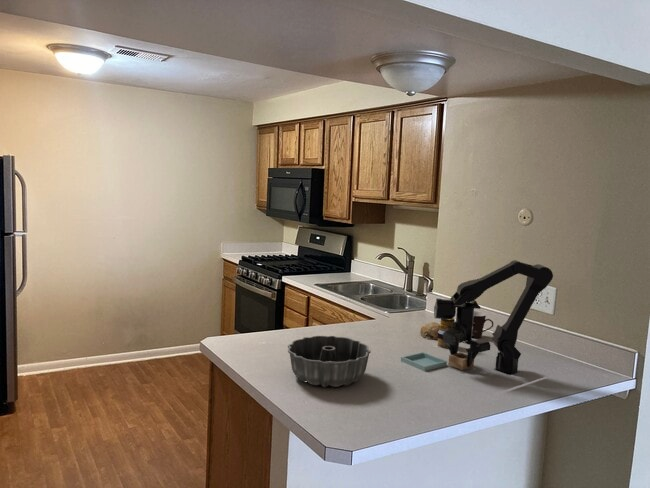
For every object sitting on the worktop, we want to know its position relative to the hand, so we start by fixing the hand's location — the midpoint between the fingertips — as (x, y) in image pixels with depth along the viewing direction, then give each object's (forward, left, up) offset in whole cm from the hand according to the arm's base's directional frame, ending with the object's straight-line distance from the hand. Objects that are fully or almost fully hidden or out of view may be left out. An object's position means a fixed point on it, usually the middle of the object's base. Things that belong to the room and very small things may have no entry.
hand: (461, 363), depth 180 cm
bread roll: (+32, -21, -2) cm, 39 cm away
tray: (+10, +9, -2) cm, 13 cm away
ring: (0, 0, -1) cm, 1 cm away
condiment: (+18, -14, -2) cm, 23 cm away
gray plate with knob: (0, 0, -2) cm, 2 cm away
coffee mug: (+22, -37, -2) cm, 43 cm away
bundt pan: (+17, +45, -2) cm, 48 cm away
